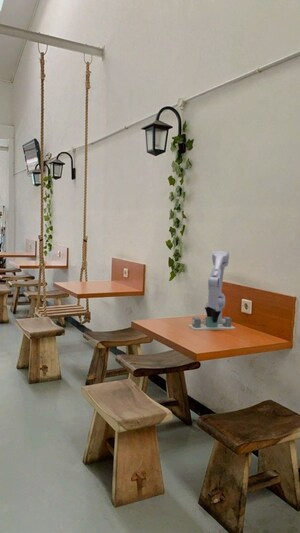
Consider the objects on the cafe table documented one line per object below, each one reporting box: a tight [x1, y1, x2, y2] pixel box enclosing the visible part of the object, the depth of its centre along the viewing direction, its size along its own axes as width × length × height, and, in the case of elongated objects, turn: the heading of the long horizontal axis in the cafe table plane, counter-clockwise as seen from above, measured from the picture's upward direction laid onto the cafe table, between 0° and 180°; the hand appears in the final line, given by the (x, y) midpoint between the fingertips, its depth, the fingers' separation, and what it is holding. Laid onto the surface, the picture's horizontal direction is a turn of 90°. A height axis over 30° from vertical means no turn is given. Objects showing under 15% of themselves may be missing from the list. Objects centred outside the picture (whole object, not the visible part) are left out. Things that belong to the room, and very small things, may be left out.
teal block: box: [204, 316, 218, 327], centre depth 240 cm, size 6×4×5 cm, turn 104°
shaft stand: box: [188, 316, 236, 331], centre depth 240 cm, size 9×25×6 cm, turn 104°
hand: (212, 321), depth 240 cm, fingers open, 7 cm apart
